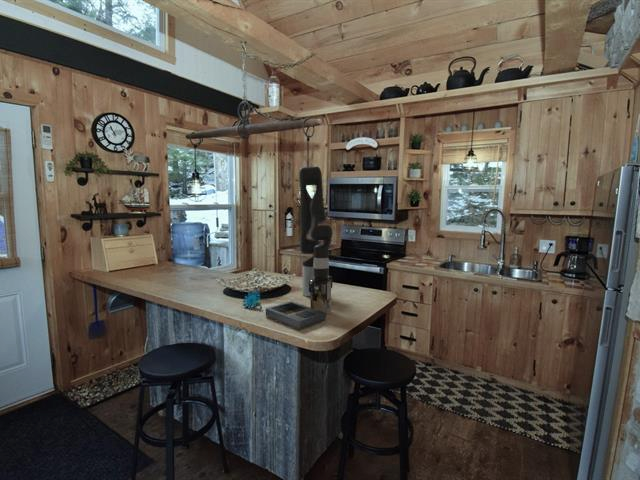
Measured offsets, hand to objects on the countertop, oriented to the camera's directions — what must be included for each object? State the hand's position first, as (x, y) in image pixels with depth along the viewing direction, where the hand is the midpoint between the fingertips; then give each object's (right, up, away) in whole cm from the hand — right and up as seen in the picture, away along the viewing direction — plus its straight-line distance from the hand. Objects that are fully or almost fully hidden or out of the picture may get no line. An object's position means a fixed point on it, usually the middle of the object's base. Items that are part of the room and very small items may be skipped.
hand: (320, 298), depth 168 cm
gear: (-35, -6, +8) cm, 36 cm away
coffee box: (0, -7, +1) cm, 7 cm away
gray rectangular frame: (-12, -8, -8) cm, 17 cm away
